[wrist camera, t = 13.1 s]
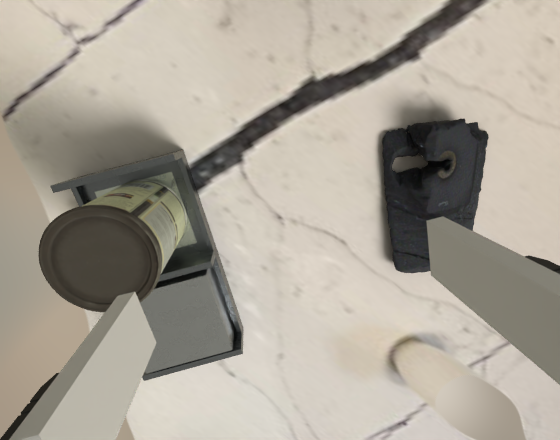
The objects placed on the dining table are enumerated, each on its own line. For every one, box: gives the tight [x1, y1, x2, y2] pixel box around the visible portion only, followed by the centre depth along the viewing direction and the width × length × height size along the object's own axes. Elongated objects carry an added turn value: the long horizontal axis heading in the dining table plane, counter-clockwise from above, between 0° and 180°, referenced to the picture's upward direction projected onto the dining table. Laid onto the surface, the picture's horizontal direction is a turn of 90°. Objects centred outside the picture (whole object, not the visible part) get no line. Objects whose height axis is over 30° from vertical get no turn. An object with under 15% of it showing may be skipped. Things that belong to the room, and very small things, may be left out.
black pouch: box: [382, 119, 488, 273], centre depth 44 cm, size 15×22×5 cm
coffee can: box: [39, 179, 187, 312], centre depth 35 cm, size 10×10×14 cm
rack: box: [51, 150, 243, 381], centre depth 42 cm, size 28×15×6 cm, turn 14°
